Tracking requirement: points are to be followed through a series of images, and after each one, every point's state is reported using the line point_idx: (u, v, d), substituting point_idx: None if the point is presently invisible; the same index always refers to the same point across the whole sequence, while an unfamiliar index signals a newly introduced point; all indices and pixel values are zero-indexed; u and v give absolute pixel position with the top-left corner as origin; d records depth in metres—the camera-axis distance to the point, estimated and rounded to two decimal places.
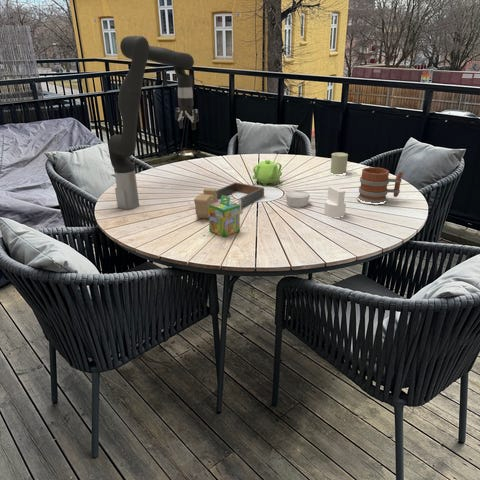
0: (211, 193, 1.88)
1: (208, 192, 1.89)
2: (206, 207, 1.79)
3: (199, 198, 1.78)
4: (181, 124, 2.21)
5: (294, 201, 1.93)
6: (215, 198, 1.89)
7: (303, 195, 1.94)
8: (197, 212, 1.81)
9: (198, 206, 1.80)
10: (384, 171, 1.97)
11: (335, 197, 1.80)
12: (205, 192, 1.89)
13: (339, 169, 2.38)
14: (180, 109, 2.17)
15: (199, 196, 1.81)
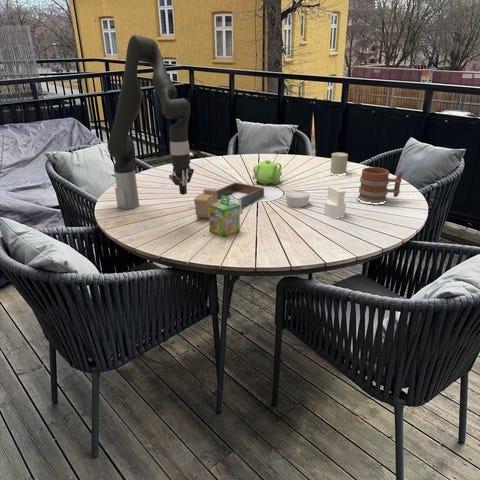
0: (211, 193, 1.88)
1: (208, 192, 1.89)
2: (206, 207, 1.79)
3: (199, 198, 1.78)
4: None
5: (294, 201, 1.93)
6: (215, 198, 1.89)
7: (303, 195, 1.94)
8: (197, 212, 1.81)
9: (198, 206, 1.80)
10: (384, 171, 1.97)
11: (335, 197, 1.80)
12: (205, 192, 1.89)
13: (339, 169, 2.38)
14: (177, 170, 1.64)
15: (199, 196, 1.81)
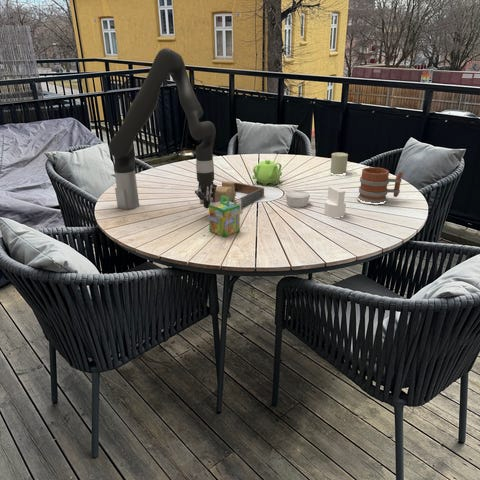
0: (229, 185, 1.98)
1: (226, 184, 1.98)
2: None
3: (218, 190, 1.88)
4: None
5: (294, 201, 1.93)
6: (233, 190, 1.99)
7: (303, 195, 1.94)
8: None
9: (217, 197, 1.89)
10: (384, 171, 1.97)
11: (335, 197, 1.80)
12: (223, 184, 1.99)
13: (339, 169, 2.38)
14: (203, 186, 1.79)
15: (218, 188, 1.90)
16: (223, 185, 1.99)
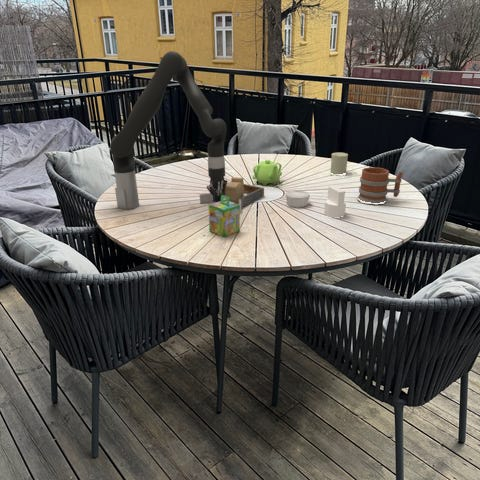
0: (238, 181, 2.04)
1: (236, 180, 2.04)
2: (235, 193, 1.95)
3: (229, 185, 1.94)
4: None
5: (294, 201, 1.93)
6: (242, 186, 2.05)
7: (303, 195, 1.94)
8: None
9: (228, 192, 1.95)
10: (384, 171, 1.97)
11: (335, 197, 1.80)
12: (233, 180, 2.05)
13: (339, 169, 2.38)
14: (214, 181, 1.85)
15: (229, 183, 1.97)
16: (232, 181, 2.05)
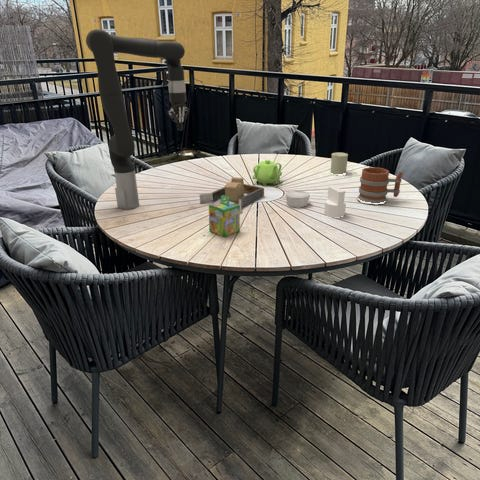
0: (238, 181, 2.04)
1: (236, 180, 2.04)
2: (235, 193, 1.95)
3: (229, 185, 1.94)
4: None
5: (294, 201, 1.93)
6: (242, 186, 2.05)
7: (303, 195, 1.94)
8: None
9: (228, 192, 1.96)
10: (384, 171, 1.97)
11: (335, 197, 1.80)
12: (233, 180, 2.05)
13: (339, 169, 2.38)
14: (175, 107, 1.89)
15: (228, 183, 1.97)
16: (233, 181, 2.05)
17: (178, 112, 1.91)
